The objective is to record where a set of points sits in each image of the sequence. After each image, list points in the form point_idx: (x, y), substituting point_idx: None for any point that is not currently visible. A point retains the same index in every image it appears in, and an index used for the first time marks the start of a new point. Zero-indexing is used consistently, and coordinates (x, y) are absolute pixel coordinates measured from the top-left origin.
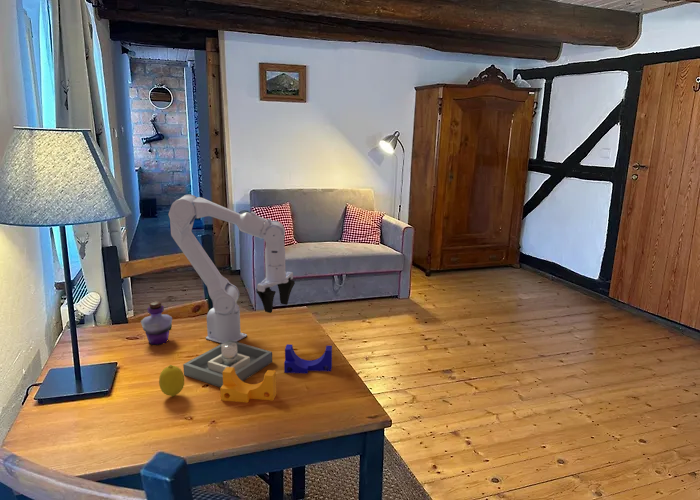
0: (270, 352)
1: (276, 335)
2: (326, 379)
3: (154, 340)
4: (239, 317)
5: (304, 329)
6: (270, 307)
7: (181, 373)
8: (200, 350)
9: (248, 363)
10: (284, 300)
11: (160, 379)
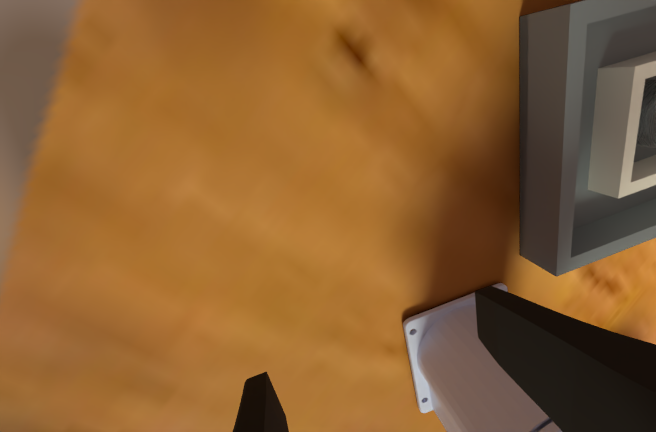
0: (578, 5)
1: (305, 255)
2: None
3: None
4: (499, 393)
5: (125, 227)
6: (546, 309)
7: None
8: (568, 306)
9: (614, 65)
10: (277, 423)
11: None
